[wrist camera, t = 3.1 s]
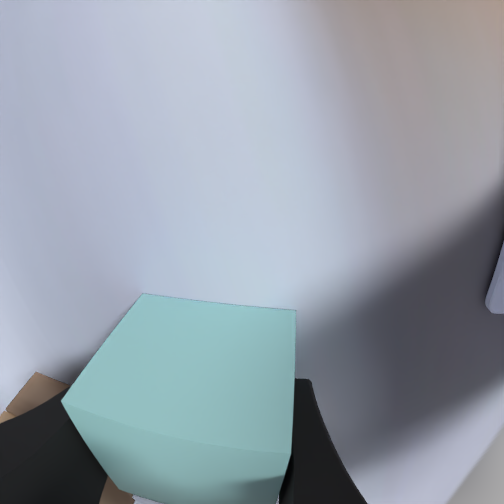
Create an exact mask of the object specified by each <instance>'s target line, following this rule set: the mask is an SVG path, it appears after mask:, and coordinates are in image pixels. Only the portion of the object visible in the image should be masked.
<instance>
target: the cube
mask: <svg viewBox="0 0 504 504" xmlns="http://www.w3.org/2000/svg"><path fill="white" fill-rule="evenodd" d="M295 340H296V310H285V309H273V308H262V307H251V306H241V305H232V304H222V303H213V302H205V301H196V300H188V299H180V298H172V297H165V296H157V295H150V294H142V295H141V296H140V297H139V299H138V300H137V301H136V302H135V304H134V305H133V306H132V307H131V309H130V310H129V311H128V312H127V314H126V315H125V316H124V317H123V319H122V320H121V321H120V323H119V324H118V325H117V326H116V328H115V329H114V330H113V331H112V333H111V334H110V335H109V337H108V338H107V339H106V341H105V342H104V343H103V344H102V346H101V347H100V348H99V350H98V351H97V352H96V354H95V355H94V356H93V358H92V359H91V360H90V362H89V363H88V364H87V366H86V367H85V368H84V370H83V371H82V372H81V374H80V375H79V377H78V378H77V379H76V381H75V382H74V383H73V385H72V386H71V388H70V389H69V390H68V392H67V393H66V395H65V396H64V397H63V399H62V400H61V402H62V404H63V406H64V408H65V410H66V411H67V413H68V415H69V417H70V418H71V420H72V422H73V423H74V425H75V427H76V428H77V430H78V432H79V433H80V435H81V436H82V438H83V440H84V441H85V443H86V444H87V446H88V447H89V449H90V450H91V452H92V453H93V455H94V456H95V458H96V459H97V460H98V462H99V463H100V465H101V466H102V467H103V469H104V470H105V472H106V473H107V474H108V476H109V477H110V478H111V480H112V481H113V482H114V483H115V485H116V486H117V487H118V489H119V490H122V491H125V492H128V493H131V494H134V495H137V496H140V497H143V498H146V499H150V500H153V501H156V502H160V503H164V504H276V501H277V498H278V495H279V492H280V489H281V485H282V482H283V479H284V476H285V472H286V469H287V465H288V462H289V459H290V455H291V444H292V425H293V404H294V378H295Z"/></svg>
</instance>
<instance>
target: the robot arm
mask: <svg viewBox="0 0 504 504" xmlns="http://www.w3.org/2000/svg"><path fill="white" fill-rule="evenodd" d="M485 304H486V307H487V308H488V309H489V310H490V312H491V313H494V314H504V242H503V245H502V249H501V253H500V256H499V260H498V263H497V266H496V269H495V272H494V275H493V278H492V281H491V284H490V287H489V290H488V293H487V296H486V300H485ZM72 385H73V384H72ZM72 385H71V386H72ZM71 386H69V387H68V388H66V389H65V390H63V391H62V392H60V393H58V394H57V395H55V396H54V397H52V398H51V399H49V400H48V401H46V402H44V403H43V404H41V405H39V406H37V407H35V408H33V409H31V410H29V411H27V412H26V413H24V414H21V415H19V416H17V417H14V418H12V419H9V420H7V421H4V422H2V423H0V504H99V502H100V499H101V495H102V492H103V489H104V486H105V483H106V480H107V477H108V474H107V473H106V472H105V470H104V469H103V467H102V466H101V465H100V463H99V462H98V460H97V459H96V458H95V456H94V455H93V453H92V452H91V450H90V449H89V447H88V446H87V444H86V443H85V441H84V440H83V438H82V436H81V435H80V433H79V432H78V430H77V428H76V427H75V425H74V423H73V422H72V420H71V418H70V417H69V415H68V413H67V411H66V410H65V408H64V406H63V404H62V402H61V400H62V399H63V397H64V396H65V395H66V393H67V392H68V390H69V389H70V388H71ZM279 504H367V502H366V501H365V499H364V498H363V496H362V495H361V493H360V492H359V490H358V489H357V487H356V486H355V484H354V482H353V481H352V479H351V478H350V476H349V474H348V472H347V471H346V469H345V467H344V465H343V463H342V461H341V459H340V457H339V455H338V453H337V451H336V449H335V447H334V445H333V443H332V441H331V438H330V436H329V434H328V431H327V429H326V427H325V424H324V422H323V419H322V416H321V414H320V411H319V408H318V405H317V402H316V399H315V395H314V391H313V387H312V382H311V381H310V380H309V379H297V378H294V404H293V425H292V444H291V455H290V459H289V462H288V465H287V469H286V472H285V476H284V479H283V482H282V485H281V489H280V492H279Z"/></svg>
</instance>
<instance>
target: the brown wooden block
mask: <svg viewBox="0 0 504 504" xmlns="http://www.w3.org/2000/svg"><path fill="white" fill-rule="evenodd" d="M69 386H70V385H68V384H65V383H62V382H60V381H57V380H55V379H52V378H50V377H47V376H45V375H42V374H40V373H38V372H35V373H34V375H33V376H32V377H31V378H30V379H29V381H28V382H27V383H26V384H25V385H24V387H23V388H22V389H21V390H20V391H19V393H18V394H17V395H16V396H15V398H14V399H13V400H12V401H11V403H10V404H9V405H8V407H7V408H6V410H7V412H8V413H10V414H12V415H14V416H16V417H17V416H19V415H21V414H24V413H26V412H27V411H29V410H31V409H33V408H35V407H37V406H39V405H41V404H43V403H44V402H46V401H48V400H49V399H51V398H52V397H54V396H55V395H57V394H58V393H60V392H62V391H63V390H65V389H66V388H68V387H69ZM127 493H128V492H127ZM128 494H129V495H130V496H131V497H132V496H133V494H131V493H128Z"/></svg>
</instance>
